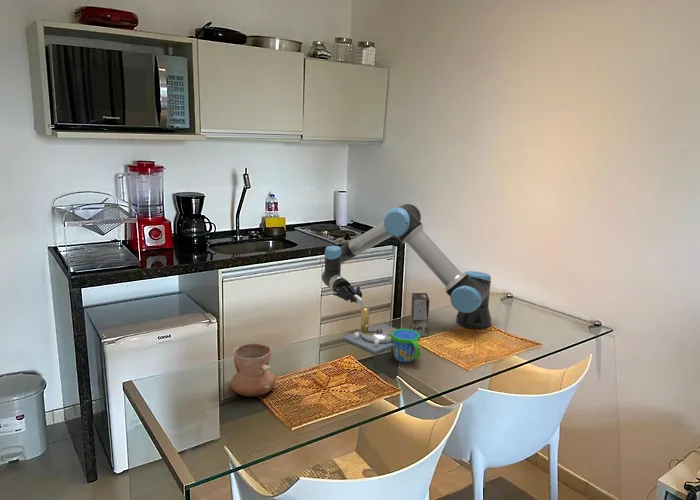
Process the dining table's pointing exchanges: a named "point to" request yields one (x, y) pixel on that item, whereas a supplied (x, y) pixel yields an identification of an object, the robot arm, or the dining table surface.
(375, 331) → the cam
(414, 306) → the coffee box
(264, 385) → the ceramic jug
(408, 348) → the snack cup
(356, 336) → the stand
